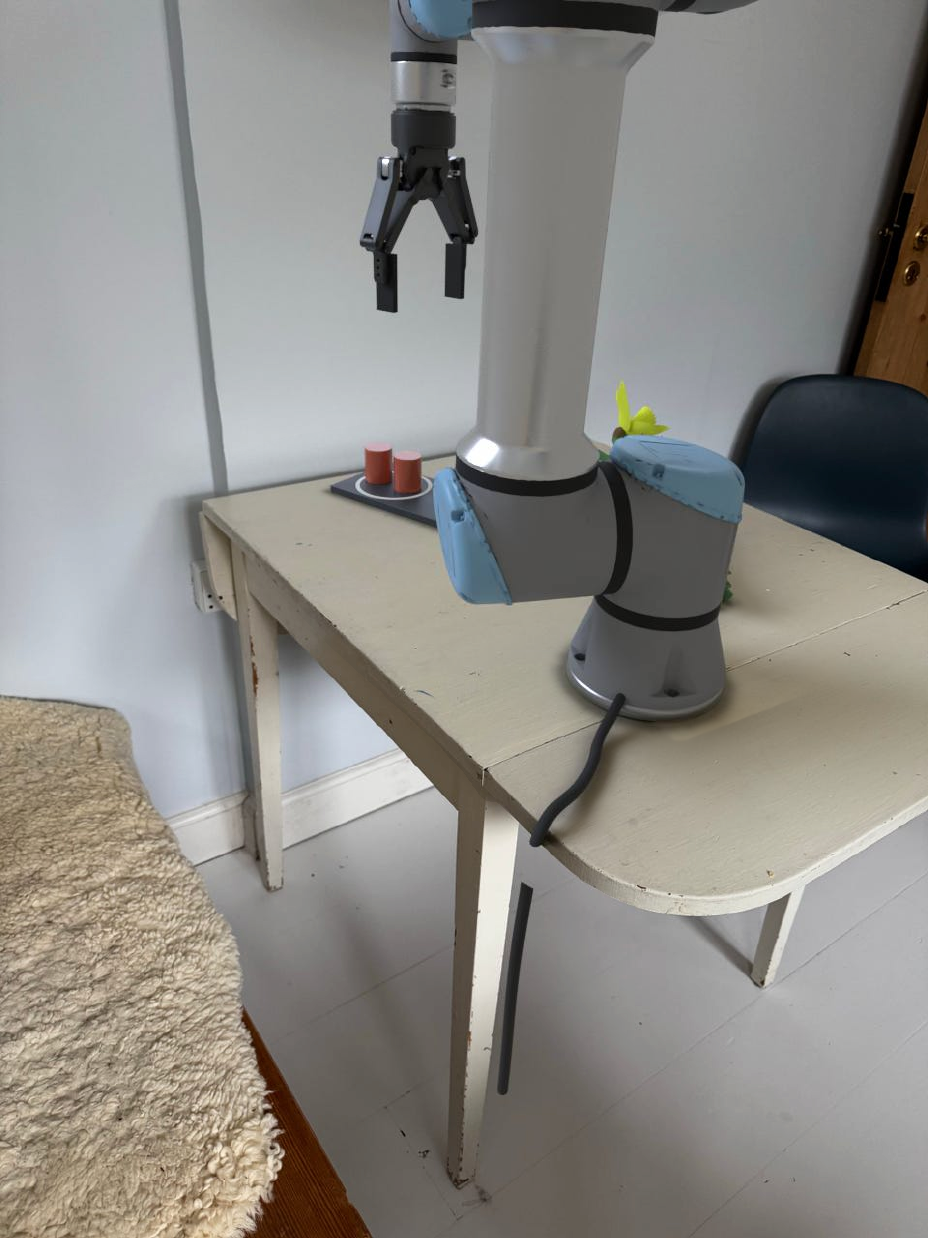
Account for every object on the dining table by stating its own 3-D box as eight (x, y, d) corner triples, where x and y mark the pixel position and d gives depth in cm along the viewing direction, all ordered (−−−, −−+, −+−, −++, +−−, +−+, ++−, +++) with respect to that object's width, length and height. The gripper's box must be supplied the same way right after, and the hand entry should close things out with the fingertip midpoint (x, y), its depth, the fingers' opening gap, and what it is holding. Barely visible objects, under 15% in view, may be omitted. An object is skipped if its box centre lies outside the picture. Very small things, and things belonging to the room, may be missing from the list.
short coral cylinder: (380, 486, 121) (379, 453, 119) (359, 479, 123) (358, 447, 121) (398, 479, 124) (397, 446, 122) (377, 472, 126) (377, 440, 123)
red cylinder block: (409, 495, 118) (409, 462, 116) (388, 489, 120) (387, 455, 118) (427, 488, 121) (427, 454, 119) (405, 481, 123) (405, 448, 121)
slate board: (463, 536, 110) (464, 528, 109) (330, 491, 122) (330, 484, 121) (513, 509, 118) (514, 501, 118) (384, 469, 130) (384, 462, 130)
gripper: (375, 104, 85) (379, 322, 96) (511, 113, 103) (501, 295, 114) (322, 103, 89) (331, 312, 100) (461, 111, 107) (457, 289, 117)
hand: (422, 304), depth 107 cm, fingers open, 13 cm apart
